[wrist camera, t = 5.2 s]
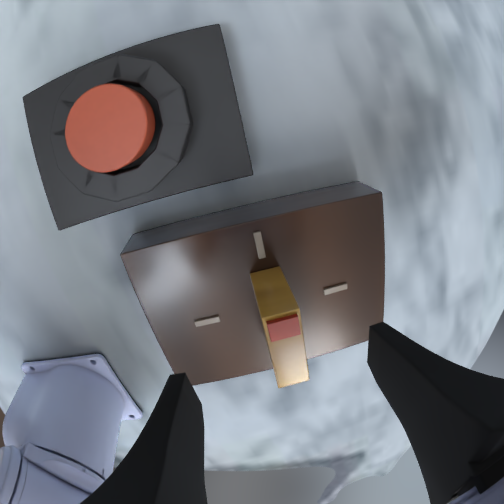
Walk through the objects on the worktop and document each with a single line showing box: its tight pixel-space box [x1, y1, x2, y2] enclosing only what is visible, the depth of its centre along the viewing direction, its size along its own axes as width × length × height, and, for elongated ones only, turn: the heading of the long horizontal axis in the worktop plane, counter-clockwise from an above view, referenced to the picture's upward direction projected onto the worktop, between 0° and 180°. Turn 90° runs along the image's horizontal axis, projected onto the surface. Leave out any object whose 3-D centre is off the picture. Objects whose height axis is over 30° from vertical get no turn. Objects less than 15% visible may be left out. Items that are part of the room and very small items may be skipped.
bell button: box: [65, 83, 155, 173], centre depth 11 cm, size 4×4×2 cm
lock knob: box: [250, 266, 309, 388], centre depth 15 cm, size 5×2×4 cm, turn 12°
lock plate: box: [120, 181, 385, 385], centre depth 18 cm, size 14×10×3 cm
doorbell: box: [23, 24, 253, 230], centre depth 13 cm, size 11×8×4 cm
